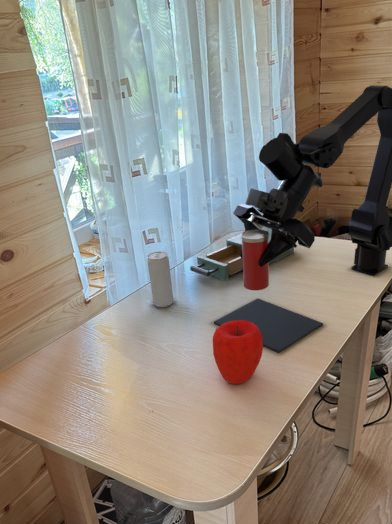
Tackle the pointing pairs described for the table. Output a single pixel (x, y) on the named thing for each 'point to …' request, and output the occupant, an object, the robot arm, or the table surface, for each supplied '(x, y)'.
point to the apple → (237, 350)
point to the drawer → (220, 263)
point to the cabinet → (238, 242)
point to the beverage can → (160, 278)
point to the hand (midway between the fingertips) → (250, 261)
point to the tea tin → (254, 259)
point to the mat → (273, 323)
